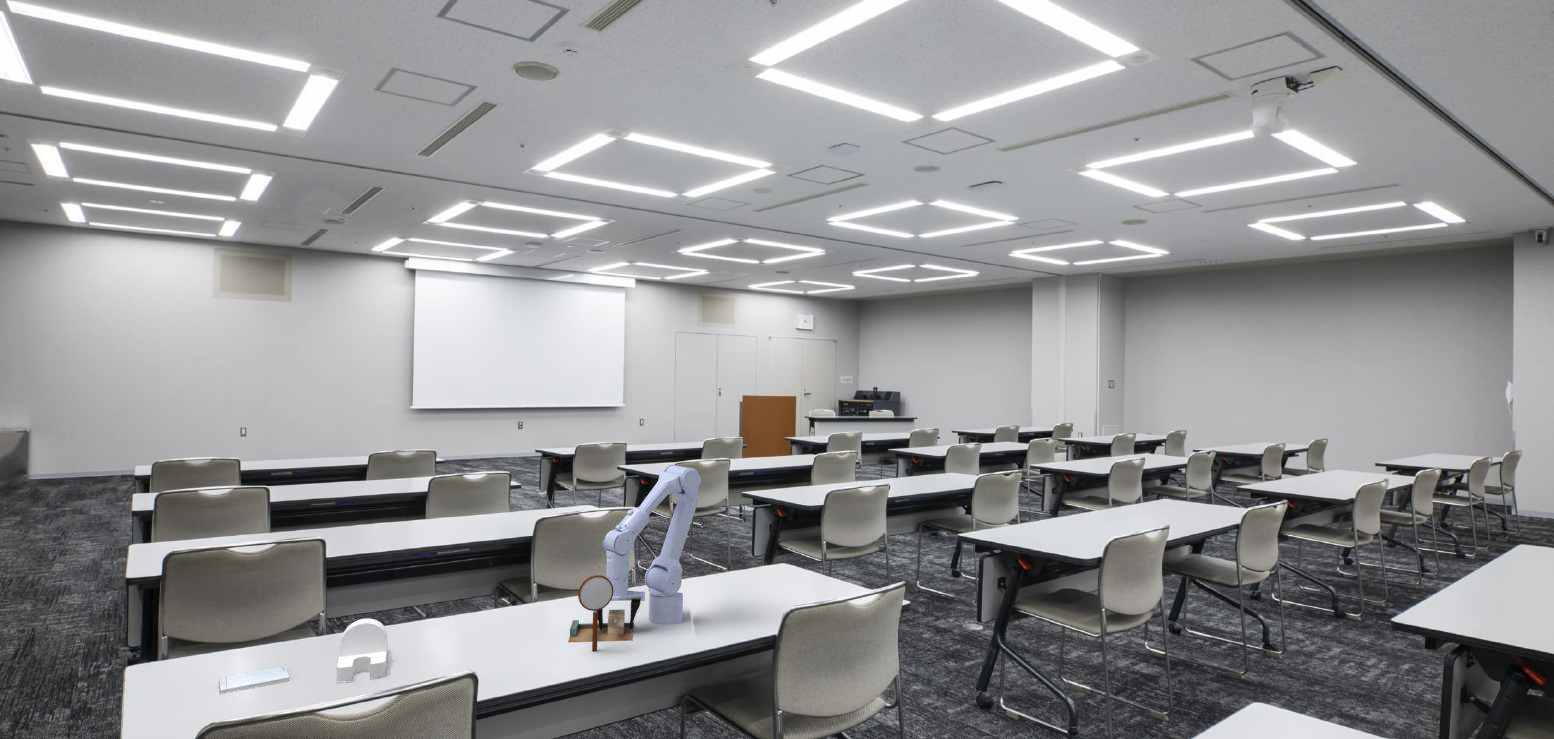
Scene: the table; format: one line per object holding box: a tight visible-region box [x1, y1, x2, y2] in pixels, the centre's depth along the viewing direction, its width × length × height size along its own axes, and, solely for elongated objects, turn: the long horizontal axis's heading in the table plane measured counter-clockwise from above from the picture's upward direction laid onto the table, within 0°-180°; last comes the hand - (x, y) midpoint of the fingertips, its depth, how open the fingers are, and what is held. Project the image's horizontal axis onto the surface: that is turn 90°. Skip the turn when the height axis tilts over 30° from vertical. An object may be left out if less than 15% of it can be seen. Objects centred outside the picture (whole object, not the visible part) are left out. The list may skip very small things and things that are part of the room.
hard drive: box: [219, 665, 290, 694], centre depth 169 cm, size 2×8×12 cm
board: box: [567, 619, 635, 643], centre depth 200 cm, size 16×11×4 cm
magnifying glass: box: [577, 574, 613, 653], centre depth 188 cm, size 9×2×20 cm, turn 117°
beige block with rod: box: [607, 608, 626, 635], centre depth 202 cm, size 4×10×5 cm, turn 9°
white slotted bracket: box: [336, 618, 389, 682], centre depth 179 cm, size 10×18×11 cm, turn 25°
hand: (616, 628), depth 202 cm, fingers open, 7 cm apart
